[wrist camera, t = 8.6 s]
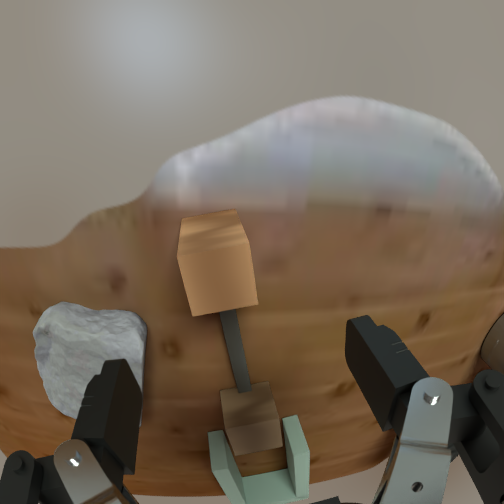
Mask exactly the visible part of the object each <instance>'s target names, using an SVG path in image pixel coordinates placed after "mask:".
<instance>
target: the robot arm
mask: <svg viewBox="0 0 504 504" xmlns="http://www.w3.org/2000/svg"><path fill="white" fill-rule="evenodd" d="M345 357H346V362H347V365H348V367H349V369H350V371H351V372H352V374H353V376H354V378H355V380H356V382H357V384H358V385H359V387H360V389H361V391H362V393H363V395H364V397H365V399H366V400H367V402H368V404H369V406H370V408H371V410H372V412H373V414H374V416H375V417H376V419H377V421H378V423H379V425H380V427H381V429H382V431H383V432H384V431H386V430H389V429H392V428H393V429H394V431H395V433H396V436H395V439H394V443H393V446H392V449H391V453H390V456H389V459H388V462H387V465H386V468H385V471H384V474H383V477H382V480H381V483H380V485H379V488H378V490H377V492H376V494H375V497H374V499H373V502H372V504H441V503H442V499H443V495H444V490H445V486H446V481H447V476H448V471H449V466H450V460H451V449H450V448H448V444H450V443H453V444H454V446H455V448H456V450H457V452H458V453H459V455H460V457H461V459H462V461H463V463H464V465H465V467H466V468H467V470H468V472H469V474H470V476H471V478H472V480H473V482H474V484H475V486H476V488H477V490H478V492H479V494H480V496H481V498H482V500H483V502H484V504H504V314H503V315H502V316H501V317H500V318H499V319H498V320H497V322H496V323H495V324H494V326H493V327H492V329H491V330H490V332H489V333H488V335H487V337H486V339H485V341H484V343H483V346H482V349H481V358H482V359H483V360H484V361H485V362H486V363H487V364H488V365H489V366H490V367H491V369H492V370H490V369H489V370H483V371H481V372H479V373H478V374H477V375H476V377H475V379H474V381H473V383H468V384H462V385H455V386H450V385H449V384H448V383H447V382H445V381H444V380H442V379H439V378H434V377H430V376H429V375H428V374H427V373H426V371H425V370H424V369H423V367H422V366H421V365H420V363H419V362H418V361H417V359H416V358H415V357H414V356H413V354H412V353H411V352H410V350H408V349H407V347H406V345H405V344H404V343H402V340H401V339H400V338H399V336H398V335H397V334H396V333H395V331H393V330H391V329H390V328H388V327H386V326H384V325H380V326H376V324H375V323H374V322H373V320H372V319H371V318H370V316H368V315H365V316H361V317H357V318H353V319H349V320H348V321H347V324H346V342H345ZM142 403H143V398H142V392H141V388H140V386H139V384H138V382H137V380H136V378H135V376H134V374H133V372H132V370H131V368H130V366H129V364H128V362H127V360H126V359H124V358H123V359H113V360H105V361H104V363H103V366H102V370H101V373H100V374H98V375H94V377H93V378H92V379H91V380H90V382H89V383H88V384H87V387H86V390H85V393H84V398H83V399H82V402H81V407H80V409H79V412H78V416H77V419H76V423H75V426H74V430H73V433H72V437H71V440H67V441H65V442H63V443H62V444H61V445H59V447H58V448H57V449H56V451H55V453H54V455H51V456H47V457H42V458H37V459H35V458H34V457H33V456H32V455H31V454H30V453H28V452H27V451H23V450H20V451H16V452H14V453H12V454H11V455H10V456H9V457H8V458H7V460H6V462H5V465H4V469H3V473H2V476H1V480H0V504H38V503H40V504H139V503H138V502H137V500H136V499H135V498H134V497H133V495H132V494H131V493H130V491H129V490H128V489H127V487H126V486H125V485H124V483H123V474H129V475H134V473H135V462H136V452H137V443H138V434H139V426H140V418H141V410H142ZM311 504H360V503H340V501H339V498H338V496H337V497H333V498H330V499H327V500H323V501H319V502H315V503H311Z"/></svg>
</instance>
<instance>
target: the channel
mask: <svg viewBox="0 0 504 504" xmlns="http://www.w3.org/2000/svg"><path fill="white" fill-rule="evenodd" d="M282 421H283V429H284V438H285V447H286V456H287V465H288V468H287V469H282V470H278V471H273V472H268V473H263V474H258V475H253V476H247V477H241V474H240V472H239V470H238V467H237V465H236V463H235V460H234V458H233V455H232V453H231V450H230V448H229V445H228V443H227V440H226V438H225V435H224V432H223V430H219V431H213V432H208V439H209V449H210V459H211V468H212V472H213V474H214V476H215V477H216V479H217V481H218V482H219V484H220V486H221V487H222V489H223V491H224V492H225V494H226V495H227V497H228V499H229V500H230V502H231V503H232V504H286V503H290V502H294V501H298V500H303V499H306V498H308V495H309V494H308V493H309V464H310V451H309V448H308V445H307V442H306V439H305V437H304V434H303V431H302V428H301V425H300V422H299V419H298V416H297V415H294V416H290V417H286V418H282Z"/></svg>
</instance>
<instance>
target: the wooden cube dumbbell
mask: <svg viewBox="0 0 504 504" xmlns="http://www.w3.org/2000/svg"><path fill="white" fill-rule="evenodd" d="M177 259H178V263H179V267H180V271H181V275H182V279H183V283H184V286H185V290H186V294H187V298H188V301H189V305H190V308H191V312H192V316H199V315H204V314H210V313H215V312H219V314H220V318H221V323H222V327H223V331H224V335H225V340H226V344H227V348H228V352H229V356H230V360H231V365H232V369H233V373H234V377H235V381H236V384H237V387H236V388H230V389H225V390H220V395H221V403H222V411H223V418H224V425H225V430H226V433H227V436H228V438H229V441H230V444H231V446H232V449H233V451H234V454H235V456H237V455H243V454H249V453H254V452H259V451H264V450H269V449H273V448H278V447H282V446H283V444H282V436H281V428H280V420H279V416H278V412H277V409H276V406H275V402H274V399H273V395H272V392H271V388H270V385H269V381H266V382H261V383H256V384H250V379H249V374H248V369H247V364H246V359H245V354H244V350H243V345H242V340H241V335H240V329H239V324H238V319H237V314H236V308H241V307H246V306H251V305H256V304H258V299H257V292H256V285H255V278H254V272H253V265H252V258H251V251H250V244H249V241H248V239H247V236H246V234H245V231H244V229H243V227H242V224H241V222H240V219H239V217H238V215H237V212H236V210H235V209H231V210H225V211H220V212H214V213H209V214H203V215H198V216H193V217H188V218H183V219H182V222H181V229H180V237H179V244H178V252H177Z"/></svg>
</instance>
